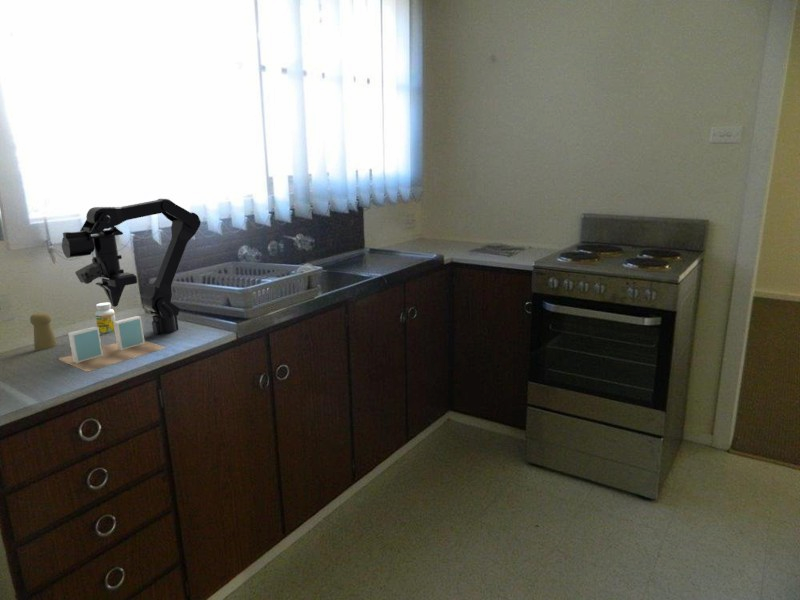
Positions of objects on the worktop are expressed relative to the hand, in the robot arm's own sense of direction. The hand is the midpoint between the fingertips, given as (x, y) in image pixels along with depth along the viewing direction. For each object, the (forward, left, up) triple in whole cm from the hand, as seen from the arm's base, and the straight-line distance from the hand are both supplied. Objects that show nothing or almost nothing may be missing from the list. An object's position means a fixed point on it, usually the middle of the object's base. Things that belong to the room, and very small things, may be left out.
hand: (115, 306), depth 168 cm
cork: (+14, -16, -12) cm, 25 cm away
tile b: (+12, +6, -11) cm, 17 cm away
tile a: (0, +6, -11) cm, 13 cm away
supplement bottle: (-4, -16, -12) cm, 21 cm away
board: (+6, +7, -12) cm, 15 cm away
